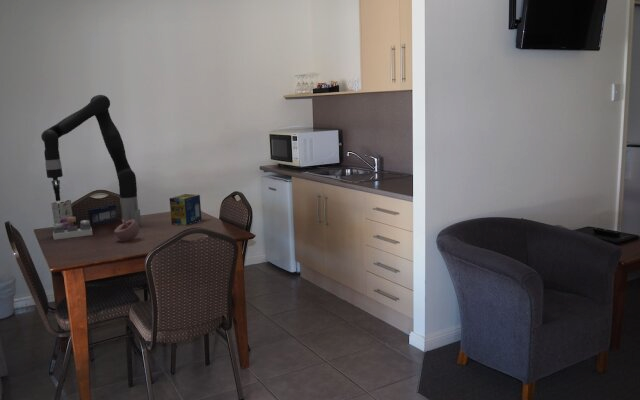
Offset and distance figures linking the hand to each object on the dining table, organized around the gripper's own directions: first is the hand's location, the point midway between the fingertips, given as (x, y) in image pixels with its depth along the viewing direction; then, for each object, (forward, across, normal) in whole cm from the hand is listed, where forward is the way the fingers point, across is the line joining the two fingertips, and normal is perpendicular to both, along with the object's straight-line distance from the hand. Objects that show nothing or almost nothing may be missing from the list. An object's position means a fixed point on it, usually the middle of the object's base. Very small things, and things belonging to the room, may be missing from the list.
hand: (58, 200), depth 295 cm
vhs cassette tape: (+20, +26, -23) cm, 40 cm away
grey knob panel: (+20, -2, -5) cm, 20 cm away
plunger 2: (+17, -2, -11) cm, 20 cm away
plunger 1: (+16, -1, +2) cm, 17 cm away
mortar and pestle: (+20, -32, -29) cm, 48 cm away
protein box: (+21, -4, -66) cm, 69 cm away
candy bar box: (+20, +22, -1) cm, 30 cm away
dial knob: (+14, -2, -5) cm, 15 cm away
